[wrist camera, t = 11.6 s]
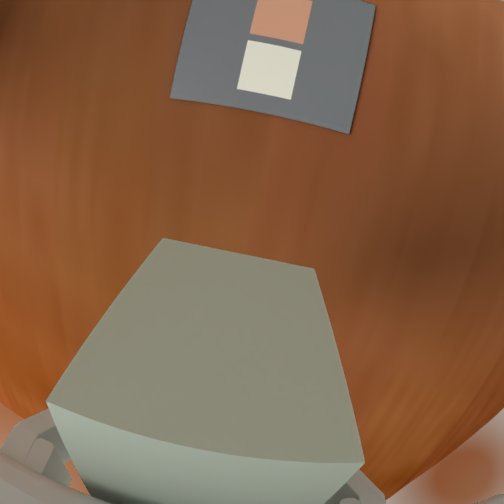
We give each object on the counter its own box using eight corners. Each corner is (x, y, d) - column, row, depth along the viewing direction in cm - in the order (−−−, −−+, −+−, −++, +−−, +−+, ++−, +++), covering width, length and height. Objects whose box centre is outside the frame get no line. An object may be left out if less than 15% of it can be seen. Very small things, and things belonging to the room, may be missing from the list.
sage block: (154, 410, 14) (116, 535, 7) (162, 237, 10) (45, 401, 4) (256, 430, 14) (250, 560, 7) (313, 268, 10) (364, 462, 4)
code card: (170, 98, 19) (169, 98, 19) (202, -30, 15) (201, -31, 15) (348, 134, 20) (348, 134, 20) (374, 6, 16) (375, 5, 16)
